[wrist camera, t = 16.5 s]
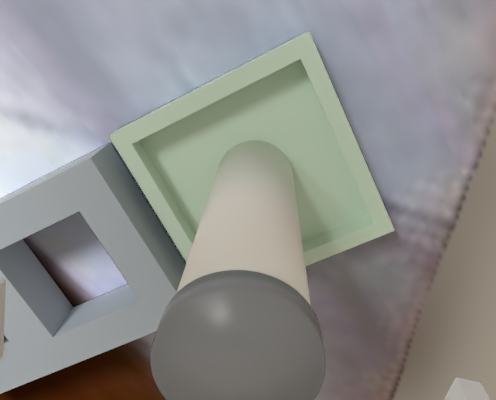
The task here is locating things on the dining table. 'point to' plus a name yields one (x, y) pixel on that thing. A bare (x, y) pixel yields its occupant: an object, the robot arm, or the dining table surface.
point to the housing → (46, 290)
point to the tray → (263, 129)
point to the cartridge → (243, 293)
